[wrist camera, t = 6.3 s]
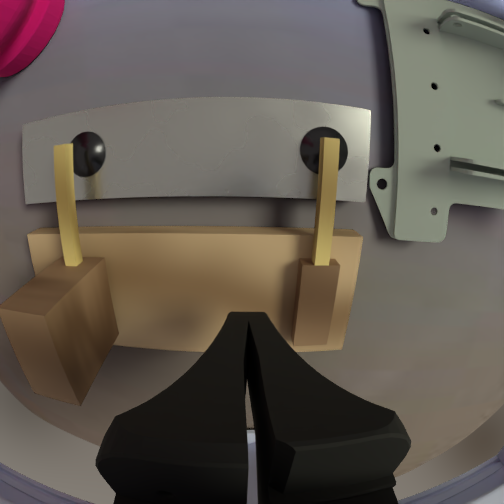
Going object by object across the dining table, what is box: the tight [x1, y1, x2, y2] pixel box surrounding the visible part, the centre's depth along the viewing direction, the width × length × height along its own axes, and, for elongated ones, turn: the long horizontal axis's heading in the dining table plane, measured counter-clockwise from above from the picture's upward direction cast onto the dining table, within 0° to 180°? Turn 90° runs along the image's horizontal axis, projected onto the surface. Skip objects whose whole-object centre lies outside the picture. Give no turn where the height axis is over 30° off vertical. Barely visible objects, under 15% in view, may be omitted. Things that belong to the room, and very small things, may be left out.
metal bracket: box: [357, 0, 504, 242], centre depth 10 cm, size 14×6×15 cm
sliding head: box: [0, 144, 119, 406], centre depth 9 cm, size 9×2×5 cm, turn 178°
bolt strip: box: [22, 97, 371, 204], centre depth 11 cm, size 4×16×1 cm, turn 88°
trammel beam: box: [27, 137, 363, 352], centre depth 12 cm, size 10×16×2 cm, turn 88°
